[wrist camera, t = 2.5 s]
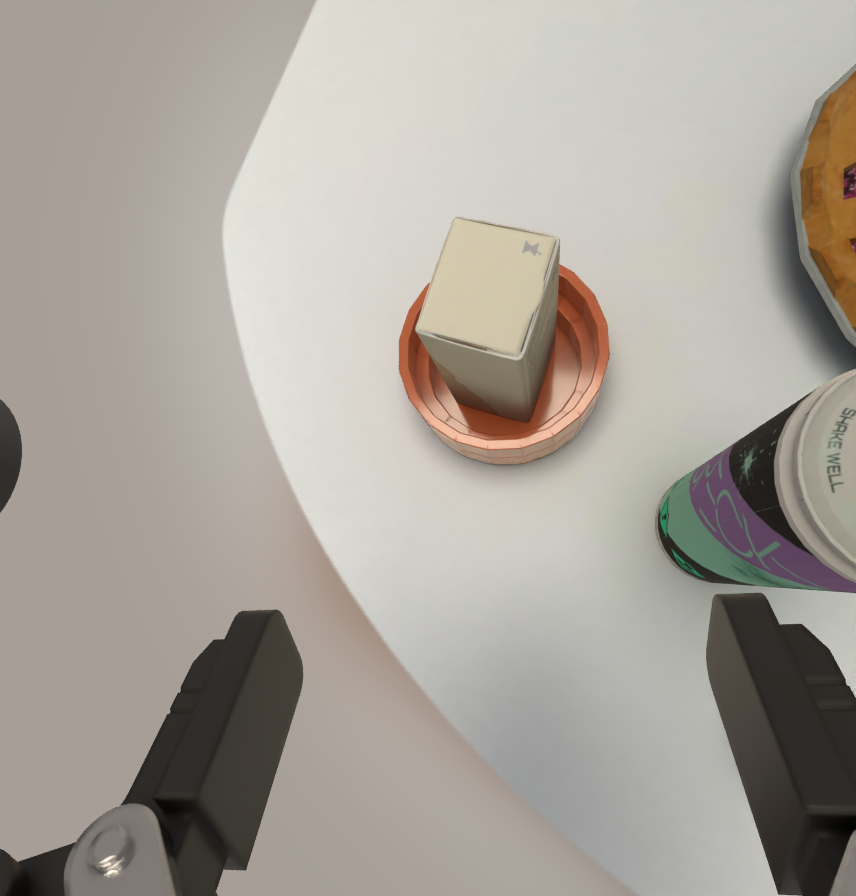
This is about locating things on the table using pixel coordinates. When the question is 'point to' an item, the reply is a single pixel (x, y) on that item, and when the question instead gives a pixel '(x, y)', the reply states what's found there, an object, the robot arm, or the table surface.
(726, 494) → the spray can
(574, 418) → the bowl
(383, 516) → the table surface
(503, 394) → the box
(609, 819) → the table surface
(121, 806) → the robot arm
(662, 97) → the table surface
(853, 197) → the pie
